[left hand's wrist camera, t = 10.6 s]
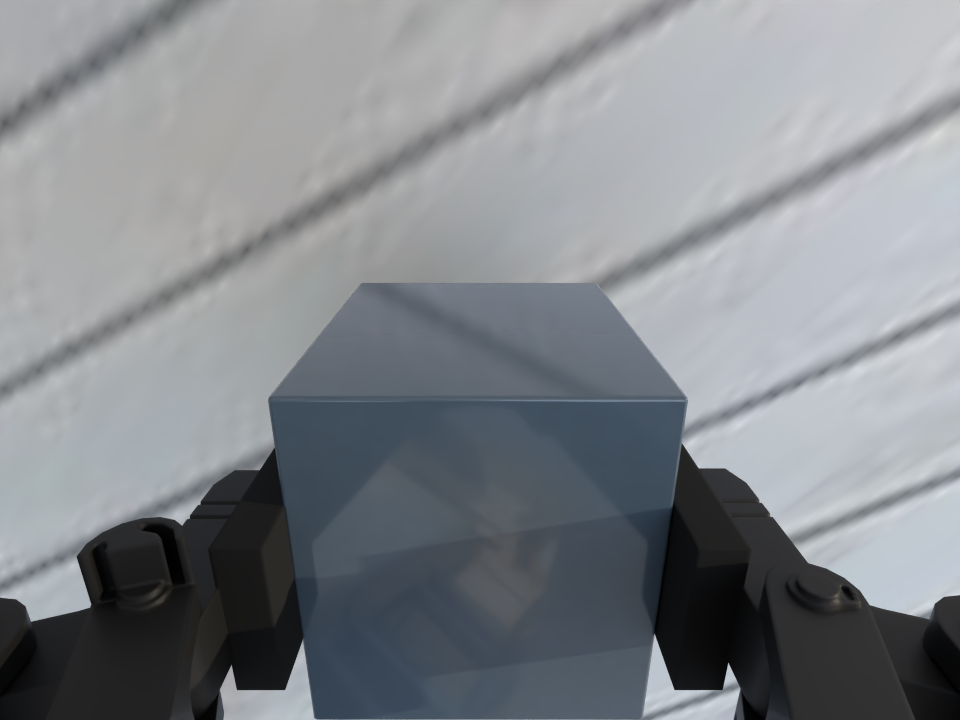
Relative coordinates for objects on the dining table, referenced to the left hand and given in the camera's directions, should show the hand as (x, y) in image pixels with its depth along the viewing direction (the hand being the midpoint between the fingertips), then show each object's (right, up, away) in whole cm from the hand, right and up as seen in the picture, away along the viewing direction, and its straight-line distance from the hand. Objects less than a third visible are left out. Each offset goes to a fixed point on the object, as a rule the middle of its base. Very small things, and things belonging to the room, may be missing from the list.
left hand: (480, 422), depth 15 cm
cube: (0, 0, +2) cm, 2 cm away
